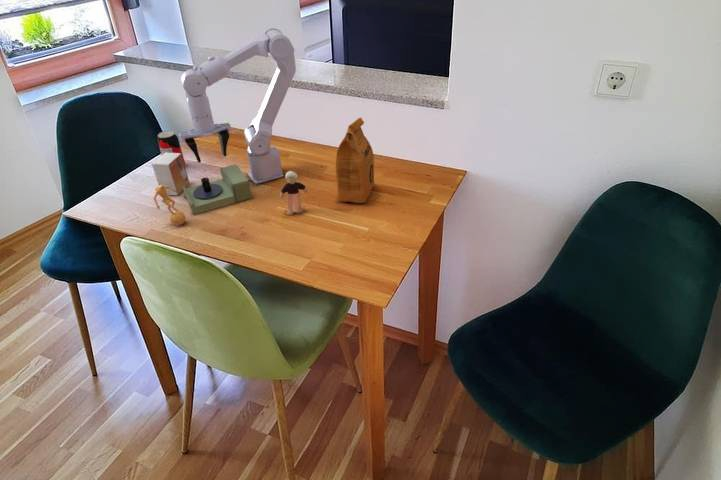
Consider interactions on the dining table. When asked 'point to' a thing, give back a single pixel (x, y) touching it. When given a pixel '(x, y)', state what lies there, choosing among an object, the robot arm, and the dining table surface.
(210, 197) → the lid
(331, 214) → the dining table surface
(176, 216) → the figurine
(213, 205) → the green step block
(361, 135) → the coffee package
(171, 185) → the small box
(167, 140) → the beverage can
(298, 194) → the grandmother figurine
